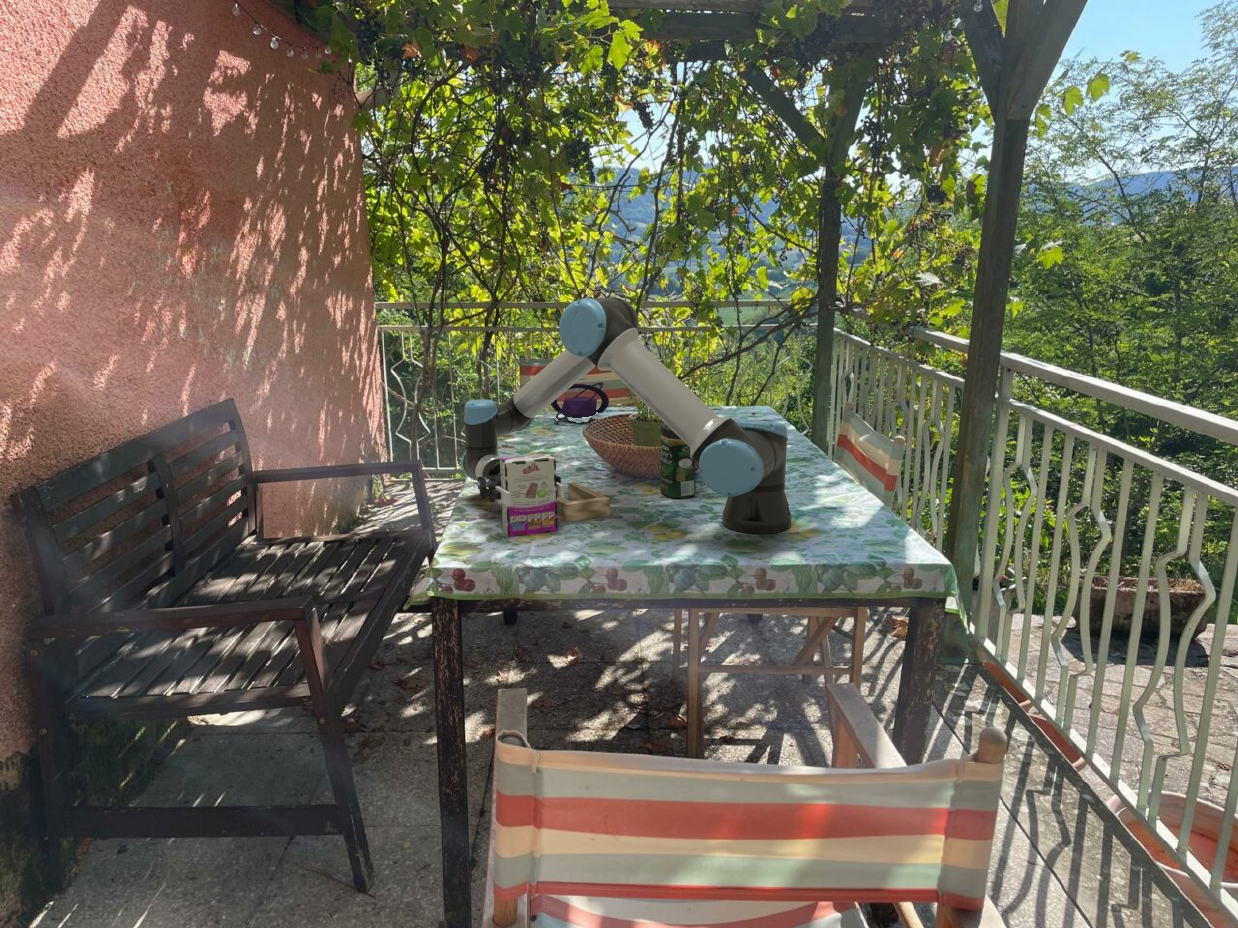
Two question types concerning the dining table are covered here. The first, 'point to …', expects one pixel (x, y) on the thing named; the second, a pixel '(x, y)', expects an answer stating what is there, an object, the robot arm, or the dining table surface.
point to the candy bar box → (529, 494)
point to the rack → (582, 504)
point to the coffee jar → (676, 466)
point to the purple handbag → (582, 402)
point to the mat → (612, 514)
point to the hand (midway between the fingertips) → (536, 495)
